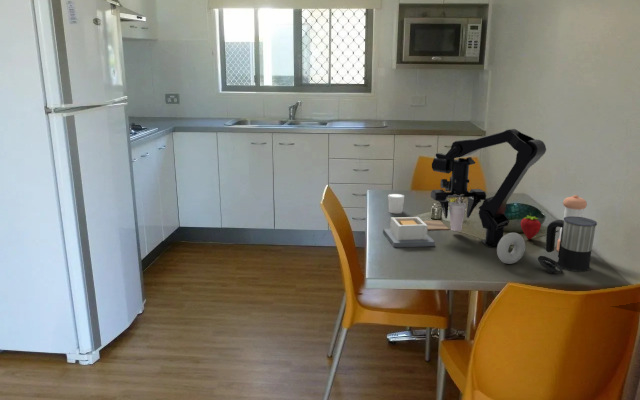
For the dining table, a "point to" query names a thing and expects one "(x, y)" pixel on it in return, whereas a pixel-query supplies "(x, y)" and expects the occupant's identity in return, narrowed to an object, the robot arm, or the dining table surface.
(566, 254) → the milk frother
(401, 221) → the button
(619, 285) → the dining table surface
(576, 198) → the pepper shaker
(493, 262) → the dining table surface
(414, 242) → the white open box
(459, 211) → the smoothie
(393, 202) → the shot glass
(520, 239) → the donut
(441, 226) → the coaster
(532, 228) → the strawberry
